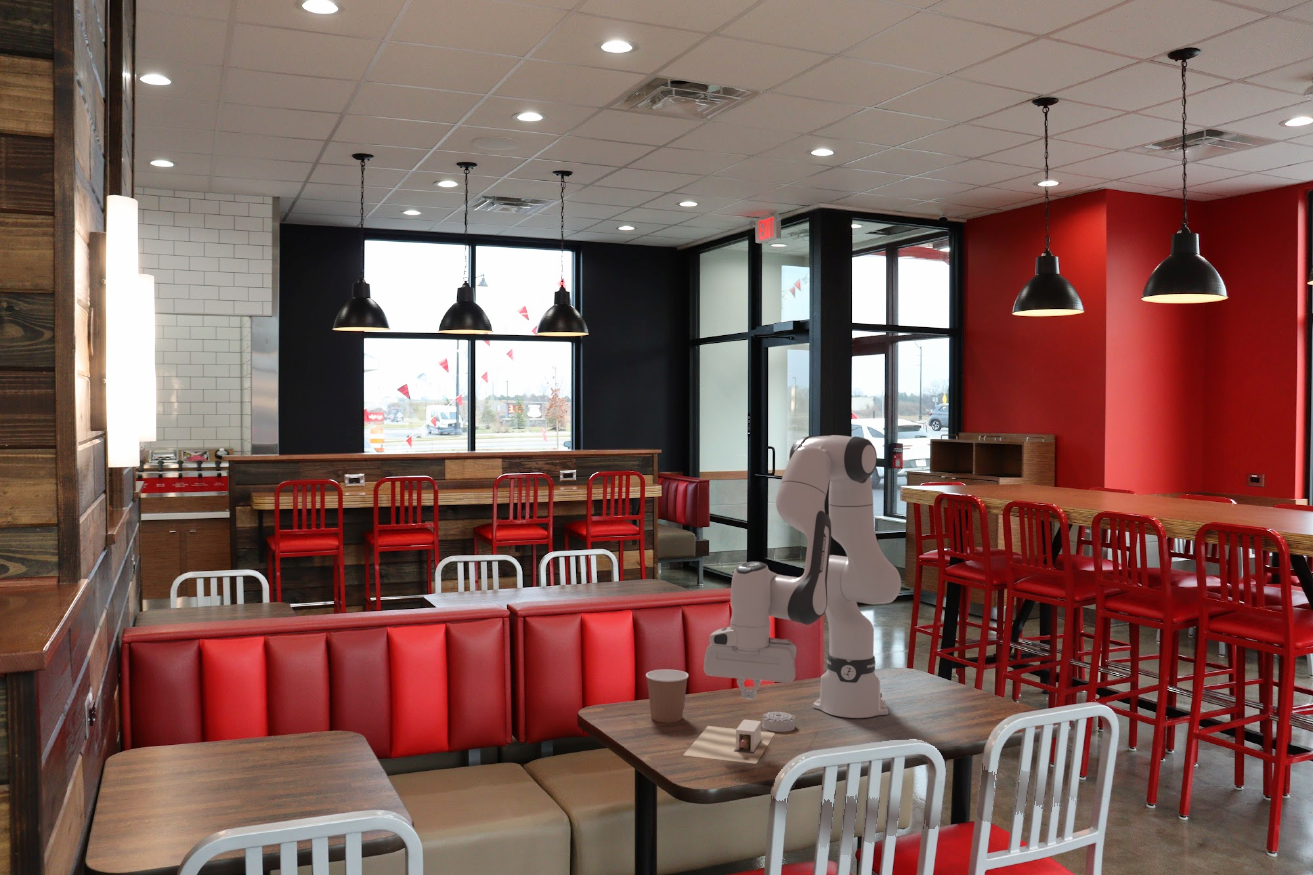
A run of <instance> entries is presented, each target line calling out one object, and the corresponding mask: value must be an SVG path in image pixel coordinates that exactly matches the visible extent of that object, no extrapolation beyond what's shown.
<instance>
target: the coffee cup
mask: <svg viewBox="0 0 1313 875" xmlns="http://www.w3.org/2000/svg"><path fill="white" fill-rule="evenodd" d="M645 677H646V681H647V689H648V699H649V700H648V701H649V710H650V718H651V720H653V721H655V722H658V723H668V724H669V723H677V722H679V721H681V720H683V715H684V714H683V713H684V709H685V702H686V692H687V682H688V678H689V673H688V672H686V671H683V670H678V669H677V670H676V669H670V668H669V669H668V668H667V669H654V670H651V671H648V672H646V674H645Z"/></svg>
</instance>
